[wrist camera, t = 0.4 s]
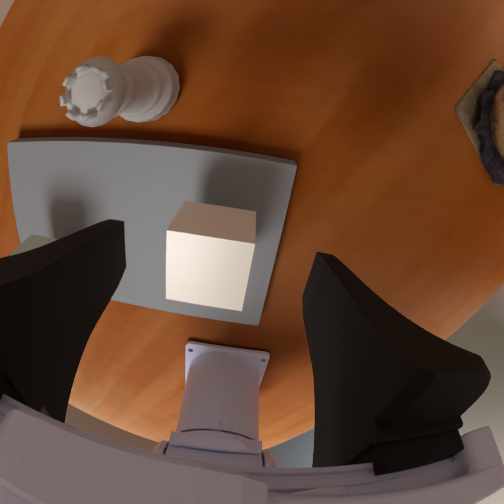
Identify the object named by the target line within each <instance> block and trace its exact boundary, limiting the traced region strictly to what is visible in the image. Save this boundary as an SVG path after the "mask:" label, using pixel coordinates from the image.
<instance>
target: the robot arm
mask: <svg viewBox="0 0 504 504" xmlns="http://www.w3.org/2000/svg"><path fill="white" fill-rule="evenodd" d="M125 269H126V252H125V227H124V221H121V220H114V219H108V220H104V221H101V222H99V223H96V224H94V225H91V226H89V227H86V228H84V229H82V230H79V231H77V232H75V233H73V234H70V235H68V236H65V237H63V238H61V239H58V240H56V241H53V242H51V243H48V244H46V245H43V246H41V247H38V248H35V249H32V250H29V251H26V252H23V253H19V254H15V255H11V256H7V257H3V258H0V504H475V503H477V502H479V501H481V500H483V499H484V498H486V497H488V496H490V495H491V494H493V493H495V492H497V491H498V490H500V489H501V488H503V487H504V465H503V462H502V459H501V456H500V453H499V450H498V447H497V445H496V442H495V440H494V437H493V434H492V432H491V429H490V427H489V426H486V427H482V428H479V429H476V430H473V431H470V432H468V433H466V434H464V435H462V436H460V434H459V431H458V429H459V428H461V427H462V426H463V422H462V419H461V417H460V416H461V415H462V414H463V413H464V412H465V411H466V410H467V409H468V408H469V407H470V406H471V405H472V404H473V403H474V402H475V401H476V400H477V399H478V398H479V397H480V396H481V395H482V394H483V393H484V391H485V390H486V388H487V386H488V384H489V381H490V378H491V375H490V371H489V370H488V368H487V366H486V364H485V362H484V361H483V359H482V358H481V357H480V356H479V355H477V354H474V353H472V352H470V351H467V350H465V349H462V348H460V347H457V346H455V345H453V344H451V343H449V342H447V341H445V340H443V339H441V338H439V337H437V336H435V335H433V334H431V333H430V332H428V331H426V330H425V329H423V328H421V327H420V326H418V325H416V324H415V323H413V322H412V321H410V320H409V319H407V318H406V317H404V316H403V315H402V314H400V313H399V312H398V311H396V310H395V309H394V308H392V307H391V306H390V305H388V304H387V303H386V302H385V301H383V300H382V299H381V298H380V297H379V296H378V295H376V294H375V293H374V292H373V291H372V290H371V289H370V288H369V287H367V286H366V285H365V284H364V283H363V282H362V281H361V280H360V279H359V278H358V277H357V276H356V275H355V274H354V273H353V272H352V271H351V270H349V269H348V268H347V267H346V266H345V265H344V264H343V263H342V262H341V261H340V260H339V259H337V258H336V257H335V256H334V255H331V254H325V253H320V252H317V254H316V257H315V260H314V263H313V266H312V269H311V272H310V275H309V278H308V281H307V284H306V287H305V290H304V293H303V318H304V324H305V329H306V335H307V340H308V346H309V351H310V356H311V362H312V368H313V376H314V395H315V433H314V453H313V465H312V468H277V462H276V459H275V458H274V457H273V456H272V455H271V453H270V452H268V451H263V452H262V441H259V387H260V384H261V381H262V378H263V376H264V373H265V370H266V367H267V364H268V361H269V358H270V354H269V353H268V352H265V351H257V350H249V349H241V348H234V347H227V346H220V345H214V344H207V343H201V342H195V341H187V343H186V356H185V390H184V395H183V400H182V405H181V410H180V415H179V420H178V425H177V431H176V432H171V435H170V440H169V441H165V440H164V441H161V442H160V443H159V444H158V445H156V446H155V447H154V449H153V451H148V450H144V449H140V448H136V447H132V446H128V445H125V444H122V443H118V442H115V441H112V440H108V439H105V438H103V437H100V436H97V435H94V434H91V433H88V432H85V431H82V430H80V429H77V428H75V427H72V426H70V425H67V424H65V423H64V422H65V416H66V410H67V406H68V401H69V397H70V393H71V389H72V385H73V381H74V378H75V375H76V372H77V369H78V365H79V362H80V359H81V357H82V354H83V351H84V349H85V346H86V344H87V341H88V339H89V337H90V335H91V333H92V331H93V329H94V327H95V325H96V323H97V322H98V320H99V318H100V317H101V315H102V313H103V311H104V310H105V308H106V306H107V305H108V303H109V301H110V300H111V298H112V296H113V295H114V293H115V291H116V290H117V288H118V286H119V283H120V281H121V279H122V277H123V274H124V272H125Z"/></svg>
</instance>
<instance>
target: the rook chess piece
mask: <svg viewBox="0 0 504 504" xmlns="http://www.w3.org/2000/svg"><path fill="white" fill-rule="evenodd" d="M62 85H63V86H66V87H67V88H66V93H65V95H62V96H59V97H60V105H61V106H66V105H67V109H68V112H67V114H66V116H67V117H68V118H70V119H71V120H72V121H73V120H75V121H77V122H78V123H79V124H81V125H83V126H88V127H96V126H100V125H103V124H106V123H107V122H108V121H109V120H111V119H112V118H113V117H115V116H118V115H120V116H121V117H123V118H124V119H125V120H128V121H133V122H138V123H140V122H148V121H153V120H157V119H159V118H160V117H162V116H163V115H165V114H166V113H168V112H169V110H170V109H171V108H172V106H173V105H174V104H175V102H176V100H177V97H178V93H179V90H180V85H179V76H178V74H177V72H176V71H175V69H174V67H173V65H172V64H170V63H169V62H167V61H166V60H164V59H163V58H160V57H153V56H141V57H137V58H133V59H130V60H129V61H127V62H126V63H124V64H123V65H122V64H119V63H117V62H115V61H114V60H112V59H110V58H109V57H98V56H96V57H94V58H91V59H88V60H86V61H84V62H83V63H82V64H81V65H79V66H77V67H75V70H74V72H73V74H72V75H67V76H66V77H65V79H64V81H63V83H62Z"/></svg>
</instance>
